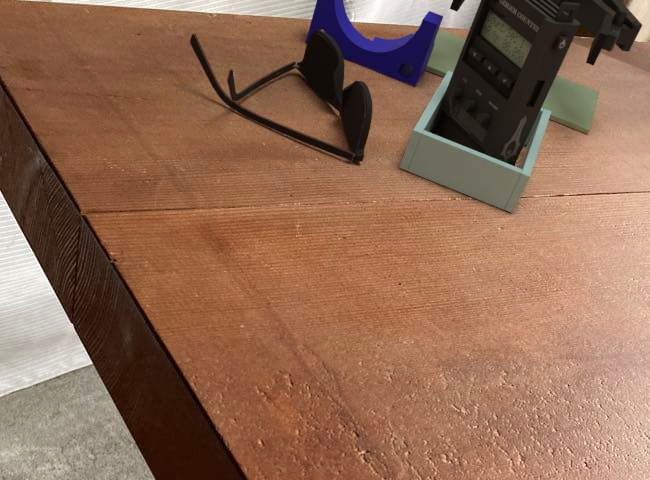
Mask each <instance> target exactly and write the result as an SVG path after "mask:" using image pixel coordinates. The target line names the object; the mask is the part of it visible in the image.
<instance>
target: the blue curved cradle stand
mask: <svg viewBox="0 0 650 480" xmlns="http://www.w3.org/2000/svg"><path fill="white" fill-rule="evenodd" d="M344 3H345V2H344V0H316V2H315V6H314V9H313V12H312V13H313V14H312V18H311V21H310V25H309V28H308V32H307V36H306V39H305V44H307V43H308V40H309V38H310V35H311V34H312V33H313V32H314V31H316V30H318V31H324V32H326V33H327V34H329V35H330V36H331V37H332V38H333V39H334V40H335V41H336V43H337V44H338V46H339V47H340V49H341V51H342V54H343V58H344V59H345V60H347V61H350V62H353V63H355V64H358V65H360V66H362V67H365V68H368V69H369V70H373V71H375V72H377V73H380V74H382V75H384V76H387V77H391V78H392V79H395V80H397V81H400V82H403V83H406V84H408V85H410V86H413V87H416V86H417V85H418V83H419V81H420V80H421V78H422V77H423V75H424V74H425V73H426V70H425V69H426V67H427V64H428V61H429V58H430V56H431V53H432V50H433V47H434V45H435V43H434V41H435V38H436V35H437V33H438V30H439V29H440V27H441V24H442V22H443V19H444V16H443V15H441V14H439V13H436V12H434V11H431V10H429V11H428V12H427V13H426V14H425V16H424V17H423V19H422V21H421V22H420V25H419V27H418V29H417V30H415V31H414V33H409V34H407V35H405V36H402V37H398V38H381V37H379V36H375V37H374V38H373V39H372V40H371V39H369V38H367V37H366V36H365V35H362V33H360V32H359V31H358V30H357V29H356V27H355V26H354V25H353V23H352V22H351V20H350V18H349V16H348V14H347V11H346V8H345V4H344Z"/></svg>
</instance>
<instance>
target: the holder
mask: <svg viewBox="0 0 650 480" xmlns="http://www.w3.org/2000/svg"><path fill="white" fill-rule="evenodd" d="M452 74H453V72H450V71H448V72H447V74H446V75H445V77H443V79H442V81H441V82H440V84H439V86H438V87H437V89H436V90H435V92H434V94H433V96H432V97H431V99H430V101H429V102H428V104H427V106H426V107H425V109H424V111H423V112H422V114H421V116H420V117H419V119H418V120H417V122H416V124H415V125H414V128H413V129H412V131H411V135H410V138H409V140H408V143H407V145H406V148H405V150H404V153H403V156H402V159H401V161H400V163H399V166H398V167H399V169H401V170H404V171H406V172H409V173H411V174H414V175H416V176H419V177H421V178H423V179H426V180H429V181H431V182H433V183H436V184H438V185H440V186H442V187H445V188H448V189H451V190H453V191H456V192H458V193H461V194H462V195H466V196H468V197H471V198H473V199H475V200H478V201H480V202H483V203H485V204H487V205H491V206H493V207H496V208H498V209H500V210H503V211H505V212H508V213H511V214H513V213H514V211H515V210H516V207H517V205H518V203H519V202H520V199H521V196H522V195H523V192H524V191H525V188H526V187H527V185H528V182H529V180H530V178H531V175H532V173H533V169H534V166H535V163H536V160H537V157H538V154H539V151H540V148H541V145H542V143H543V139H544V136H545V132H546V130H547V127H548V124H549V120H550V119H549V118H550V115H551V111H549V110H546V109H543V108H541V110H540V112H539V114H538V116H537V118H536V120H535V123H534V125H533V127H532V129H531V131H530V133H529V136H528V138H527V140H526V142H525V144H524V146H526V147H525V150H524V152H523V156H522V158H521V160H520V164H519V166H513V165H510V164H508V163H505V162H503V161H500V160H498V159H495V158H492V157H490V156H487V155H485V154H482V153H480V152H477V151H475V150H472V149H470V148H467V147H465V146H462V145H460V144H457V143H455V142H452V141H450V140H447V139H445V138H442V137H440V136H439V135H438V134H433V133H432V132H431V129H432V126H433V123H434V121H435V118H436V116H437V113H438V111H439V108H440V105H441V103H442V100H443V98H444V95H445V92H446V90H447V87H448V85H449V82H450V80H451V77H452Z"/></svg>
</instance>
